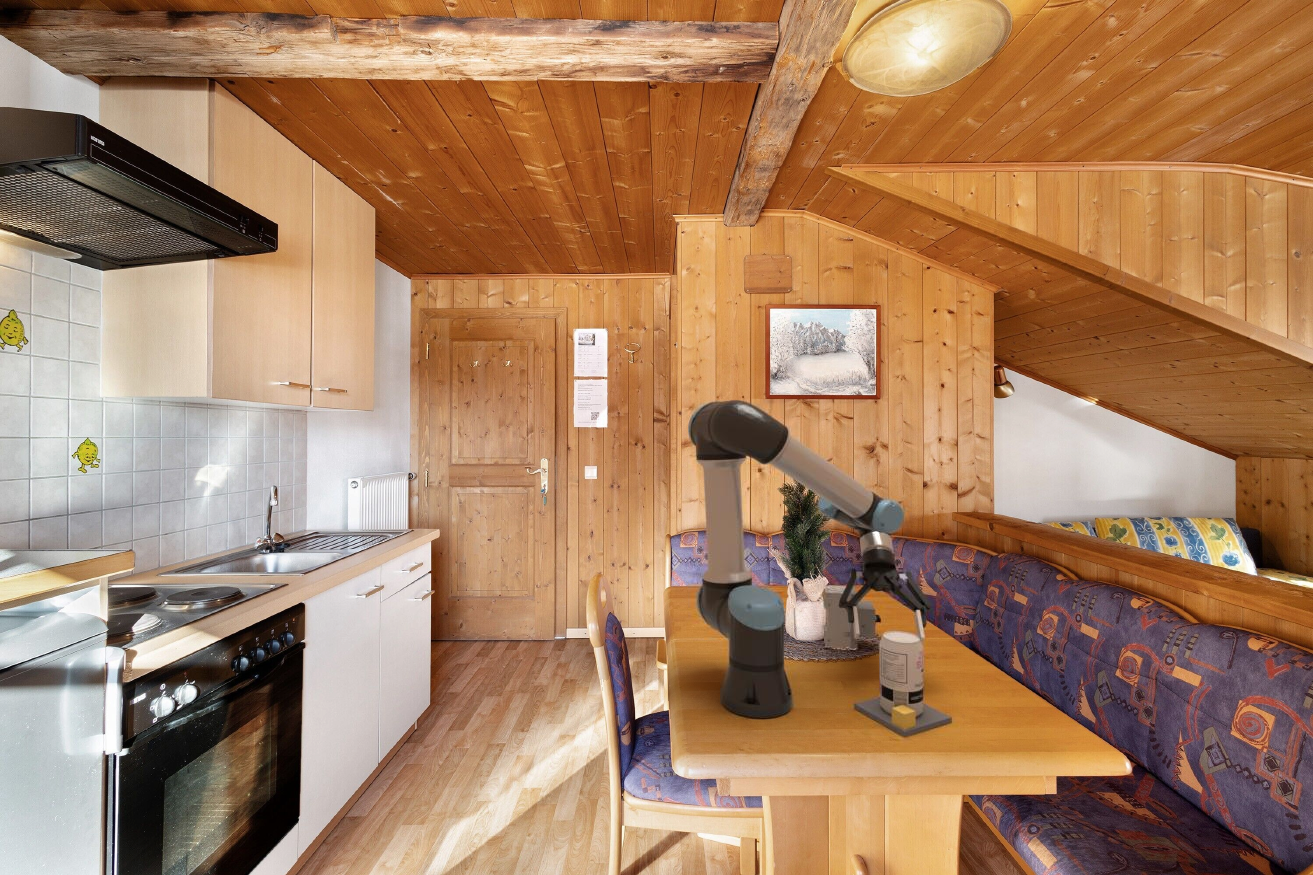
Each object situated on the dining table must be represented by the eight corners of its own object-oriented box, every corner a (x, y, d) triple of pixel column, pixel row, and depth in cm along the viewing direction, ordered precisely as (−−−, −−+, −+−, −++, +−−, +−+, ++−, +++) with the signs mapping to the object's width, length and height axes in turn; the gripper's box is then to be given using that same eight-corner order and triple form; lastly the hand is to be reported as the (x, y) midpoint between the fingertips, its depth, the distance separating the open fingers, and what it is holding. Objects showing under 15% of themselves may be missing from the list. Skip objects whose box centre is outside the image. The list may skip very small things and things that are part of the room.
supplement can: (874, 700, 127) (873, 629, 126) (913, 700, 127) (913, 629, 126) (887, 719, 119) (887, 643, 118) (930, 719, 118) (930, 643, 118)
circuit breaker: (882, 652, 156) (882, 595, 156) (825, 649, 159) (825, 592, 159) (877, 642, 164) (877, 587, 163) (823, 639, 166) (823, 585, 166)
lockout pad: (904, 736, 114) (904, 716, 114) (854, 708, 126) (854, 689, 125) (951, 722, 119) (951, 702, 119) (899, 695, 131) (899, 677, 131)
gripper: (928, 565, 148) (945, 649, 134) (823, 560, 152) (829, 641, 138) (935, 549, 142) (953, 634, 128) (826, 544, 147) (832, 626, 132)
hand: (889, 638), depth 133 cm, fingers open, 13 cm apart
